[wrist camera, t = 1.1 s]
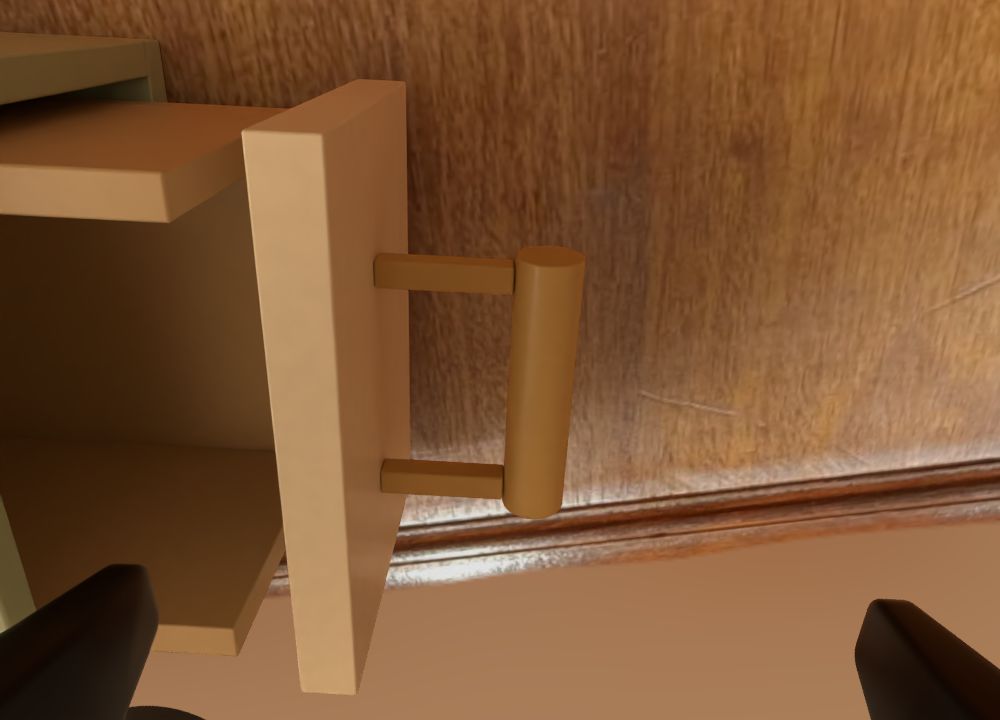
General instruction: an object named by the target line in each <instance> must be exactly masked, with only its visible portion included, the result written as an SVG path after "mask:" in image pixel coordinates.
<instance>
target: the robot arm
mask: <svg viewBox="0 0 1000 720" xmlns="http://www.w3.org/2000/svg"><path fill="white" fill-rule="evenodd" d="M158 625H159V610H158V606H157V602H156V598H155V594H154V590H153V586H152V582H151V578H150V574H149V571H148V570H147V568H146V567H145V566H143V565H140V564H120V563H116V564H111V565H108V566H106V567H104V568H103V569H101V570H100V571H98V572H96V573H95V574H93V575H92V576H90V577H89V578H87V579H85V580H84V581H82V582H81V583H79V584H78V585H76V586H74V587H73V588H71V589H70V590H68V591H67V592H65V593H63V594H62V595H60V596H59V597H57V598H55V599H54V600H52V601H51V602H49V603H48V604H46V605H44V606H43V607H41V608H40V609H38V610H37V611H35V612H33V613H32V614H30V615H29V616H27V617H25V618H24V619H22V620H21V621H19V622H18V623H16V624H14V625H13V626H11V627H10V628H8V629H7V630H5V631H3V632H2V633H0V720H124V718H125V716H126V713H127V710H128V708H129V705H130V702H131V700H132V697H133V694H134V692H135V689H136V686H137V684H138V681H139V678H140V676H141V673H142V671H143V668H144V665H145V662H146V660H147V657H148V655H149V652H150V649H151V647H152V644H153V641H154V639H155V636H156V633H157V630H158ZM855 662H856V668H857V671H858V675H859V679H860V682H861V685H862V689H863V693H864V696H865V700H866V703H867V707H868V710H869V714H870V717H871V720H1000V669H999V668H997V667H996V666H995V665H993V664H992V663H991V662H990V661H988V660H987V659H986V658H984V657H983V656H982V655H980V654H979V653H978V652H976V651H975V650H974V649H972V648H971V647H970V646H969V645H967V644H966V643H965V642H963V641H962V640H961V639H959V638H958V637H957V636H955V635H954V634H953V633H951V632H950V631H949V630H947V629H946V628H945V627H944V626H942V625H941V624H940V623H938V622H937V621H936V620H934V619H933V618H932V617H930V616H929V615H928V614H926V613H925V612H924V611H922V610H921V609H920V608H918V607H917V606H916V605H914V604H913V603H911V602H909V601H905V600H895V599H876V600H874V601H872V602H871V603H870V605H869V607H868V609H867V612H866V615H865V618H864V621H863V624H862V627H861V630H860V634H859V637H858V640H857V643H856V647H855Z"/></svg>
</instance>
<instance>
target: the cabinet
mask: <svg viewBox="0 0 1000 720" xmlns="http://www.w3.org/2000/svg"><path fill="white" fill-rule="evenodd" d="M45 96H46V97H66V98H87V99H107V100H127V101H147V102H167V95H166V88H165V81H164V75H163V68H162V61H161V54H160V47H159V42H158V40H156V39H138V38H118V37H97V36H77V35H56V34H35V33H15V32H0V105H3V104H9V103H14V102H19V101H24V100H29V99H35V98H40V97H45ZM167 103H168V102H167ZM35 611H37V610H36V607H35V604H34V600H33V597H32V594H31V591H30V588H29V584H28V581H27V578H26V575H25V571H24V568H23V565H22V562H21V558H20V555H19V552H18V549H17V546H16V542H15V539H14V536H13V533H12V529H11V526H10V523H9V520H8V516H7V513H6V510H5V507H4V504H3V500H2V497H1V494H0V633H2V632H3V631H5V630H7V629H8V628H10V627H11V626H13V625H14V624H16V623H18V622H19V621H21V620H22V619H24V618H25V617H27V616H29V615H30V614H32V613H33V612H35Z"/></svg>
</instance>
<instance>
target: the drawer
mask: <svg viewBox="0 0 1000 720" xmlns="http://www.w3.org/2000/svg"><path fill="white" fill-rule="evenodd" d="M585 262H586V260H585V257H584V255H582V254H581V253H579V252H577V251H575V250H572V249H569V248H564V247H558V246H532V247H527V248H523V249H521V250H519V251H518V252H517V253H516V255H515V262H514V260H512V259H494V258H475V257H456V256H437V255H417V254H408V213H407V132H406V83H405V82H404V81H387V80H367V79H356V80H354V81H352V82H350V83H347V84H345V85H343V86H341V87H338V88H336V89H334V90H332V91H329V92H327V93H325V94H323V95H320V96H318V97H316V98H313V99H311V100H309V101H307V102H304V103H302V104H300V105H298V106H295V107H293V108H291V109H288V108H268V107H248V106H228V105H208V104H187V103H167V102H147V101H127V100H107V99H87V98H66V97H46V96H45V97H40V98H35V99H29V100H24V101H19V102H14V103H9V104H3V105H0V494H1V497H2V500H3V504H4V507H5V510H6V513H7V516H8V520H9V523H10V526H11V529H12V533H13V536H14V539H15V542H16V546H17V549H18V552H19V555H20V558H21V562H22V565H23V568H24V571H25V575H26V578H27V581H28V584H29V588H30V591H31V594H32V597H33V600H34V604H35V607H36V610H38V609H40V608H41V607H43V606H44V605H46V604H48V603H49V602H51V601H52V600H54V599H55V598H57V597H59V596H60V595H62V594H63V593H65V592H67V591H68V590H70V589H71V588H73V587H74V586H76V585H78V584H79V583H81V582H82V581H84V580H85V579H87V578H89V577H90V576H92V575H93V574H95V573H96V572H98V571H100V570H101V569H103V568H104V567H106V566H108V565H111V564H116V563H120V564H140V565H143V566H145V567H146V568H147V570H148V571H149V574H150V578H151V582H152V586H153V590H154V594H155V598H156V602H157V606H158V610H159V625H158V630H157V633H156V636H155V639H154V641H153V644H152V647H151V649H150V651H155V652H171V653H188V654H205V655H222V656H238V655H239V653H240V650H241V648H242V646H243V644H244V641H245V639H246V637H247V635H248V632H249V630H250V628H251V626H252V623H253V621H254V619H255V617H256V614H257V612H258V610H259V607H260V605H261V603H262V601H263V599H264V596H265V594H266V592H267V590H268V587H269V585H270V583H271V581H272V578H273V576H274V574H275V572H276V569H277V567H278V565H279V563H280V560H281V558H282V556H283V554H284V552H285V549H286V554H287V563H288V573H289V582H290V592H291V601H292V609H293V620H294V629H295V638H296V648H297V656H298V666H299V675H300V685H301V691H302V692H313V693H327V694H328V693H329V694H344V695H357V693H358V690H359V686H360V682H361V678H362V674H363V670H364V666H365V662H366V658H367V654H368V650H369V646H370V642H371V638H372V633H373V630H374V626H375V621H376V617H377V613H378V609H379V605H380V601H381V597H382V593H383V589H384V585H385V581H386V577H387V573H388V569H389V565H390V561H391V557H392V553H393V549H394V545H395V541H396V537H397V533H398V529H399V525H400V521H401V517H402V513H403V508H404V504H405V500H406V496H407V494H415V495H433V496H451V497H469V498H486V499H501V498H502V501H503V504H504V506H505V507H506V508H507V509H508V511H510V512H511V513H513V514H514V515H517V516H519V517H522V518H527V519H543V518H547V517H550V516H552V515H554V514H555V513H556V512H557V511H558V510H559V509H560V507H561V505H562V497H563V487H564V477H565V467H566V456H567V446H568V436H569V426H570V415H571V405H572V395H573V385H574V375H575V364H576V354H577V344H578V334H579V323H580V313H581V303H582V293H583V282H584V272H585ZM408 290H424V291H443V292H462V293H481V294H500V295H511V294H512V293H513V307H512V326H511V344H510V363H509V382H508V400H507V419H506V437H505V456H504V466H503V465H497V464H479V463H461V462H444V461H426V460H411V458H410V376H409V295H408Z"/></svg>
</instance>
